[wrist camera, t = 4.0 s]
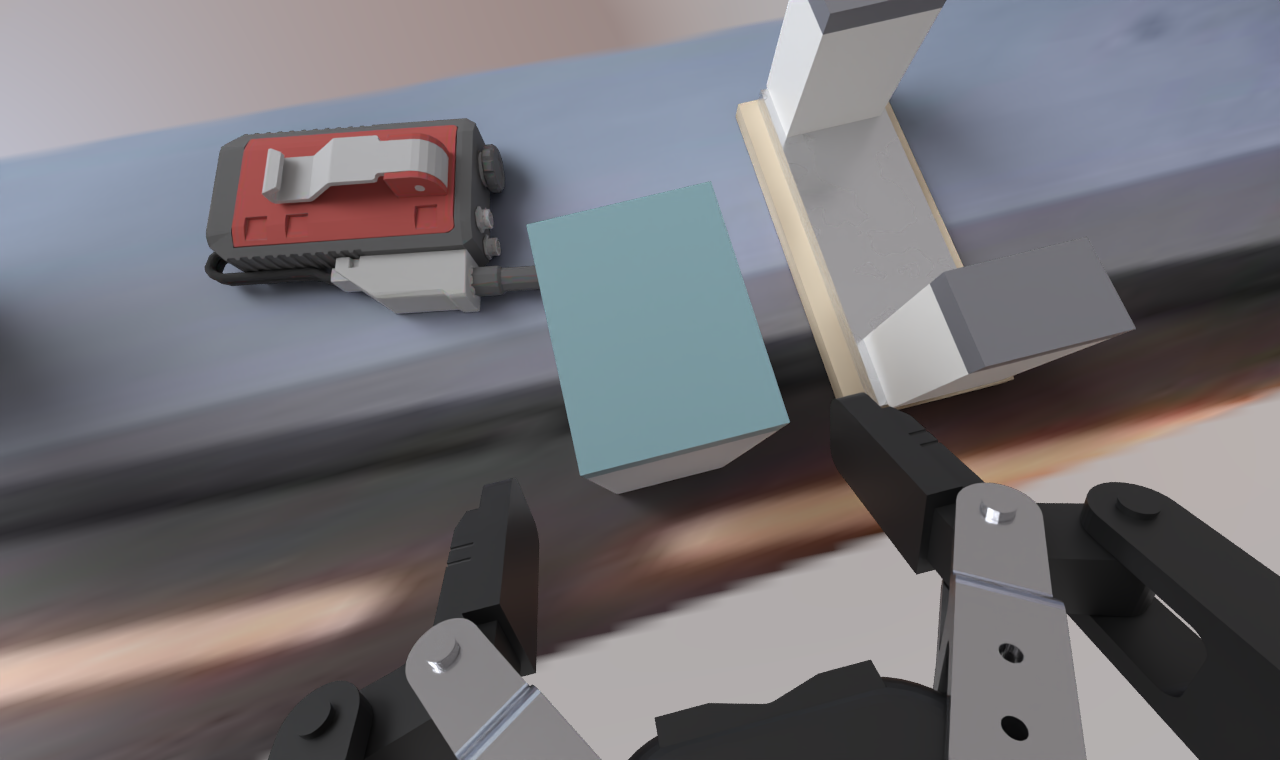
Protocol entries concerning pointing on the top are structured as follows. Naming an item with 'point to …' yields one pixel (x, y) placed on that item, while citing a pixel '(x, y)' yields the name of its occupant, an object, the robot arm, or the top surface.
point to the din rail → (861, 223)
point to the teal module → (654, 339)
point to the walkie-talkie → (365, 213)
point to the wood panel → (802, 256)
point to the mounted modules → (960, 298)
